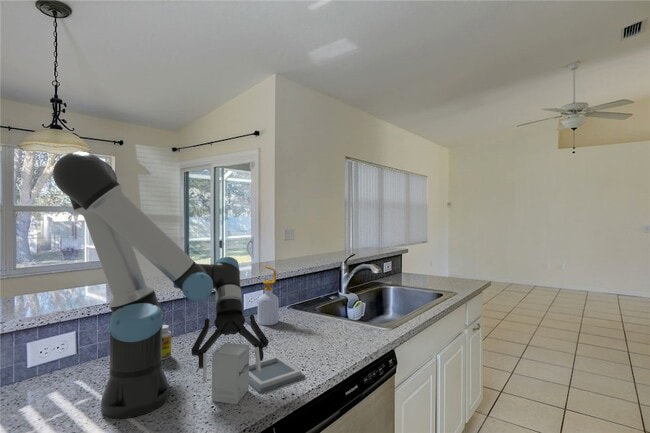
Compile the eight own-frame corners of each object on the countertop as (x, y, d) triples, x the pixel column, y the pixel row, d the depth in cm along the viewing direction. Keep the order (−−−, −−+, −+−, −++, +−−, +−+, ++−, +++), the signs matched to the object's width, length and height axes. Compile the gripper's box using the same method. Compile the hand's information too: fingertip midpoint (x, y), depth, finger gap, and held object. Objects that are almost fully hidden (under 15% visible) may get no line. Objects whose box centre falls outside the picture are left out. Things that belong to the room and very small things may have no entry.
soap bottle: (256, 320, 155) (257, 265, 155) (276, 318, 158) (277, 264, 158) (258, 326, 147) (259, 268, 146) (280, 324, 149) (280, 267, 149)
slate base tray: (259, 393, 93) (259, 386, 93) (235, 372, 105) (235, 366, 105) (304, 377, 103) (304, 371, 103) (278, 359, 114) (278, 354, 114)
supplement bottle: (152, 362, 111) (152, 330, 111) (152, 355, 116) (152, 325, 116) (171, 359, 114) (172, 328, 113) (170, 352, 119) (170, 323, 118)
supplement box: (237, 405, 88) (238, 355, 87) (210, 401, 89) (211, 352, 89) (249, 390, 95) (250, 344, 95) (224, 387, 96) (225, 341, 96)
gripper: (268, 307, 111) (278, 375, 97) (184, 313, 102) (181, 389, 89) (272, 294, 106) (282, 364, 92) (183, 300, 97) (179, 378, 83)
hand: (232, 376), depth 90 cm, fingers open, 13 cm apart
